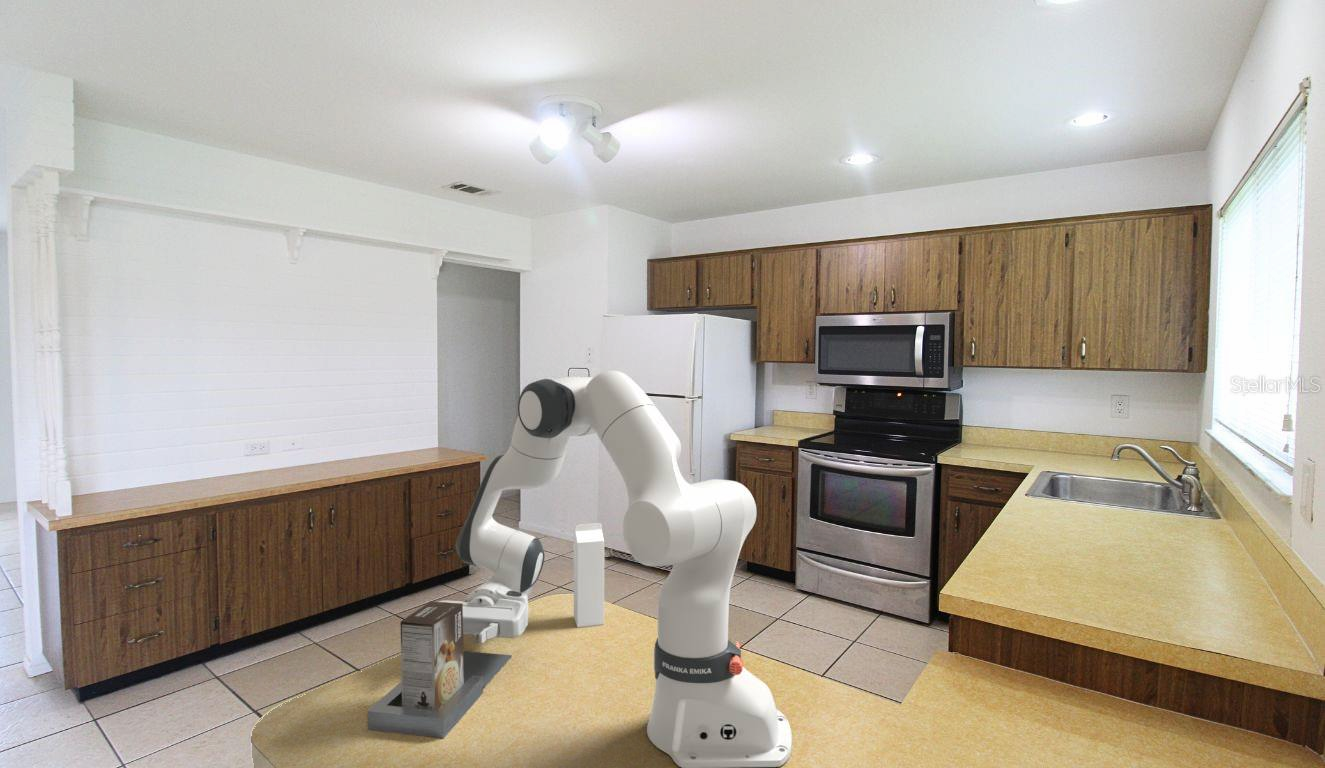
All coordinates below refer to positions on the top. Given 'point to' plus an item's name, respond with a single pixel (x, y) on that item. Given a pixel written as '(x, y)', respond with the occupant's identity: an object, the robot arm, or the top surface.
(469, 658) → the rubber mat
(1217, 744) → the top surface
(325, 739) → the top surface
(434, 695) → the coffee box
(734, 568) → the robot arm
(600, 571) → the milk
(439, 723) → the u-shaped bracket
